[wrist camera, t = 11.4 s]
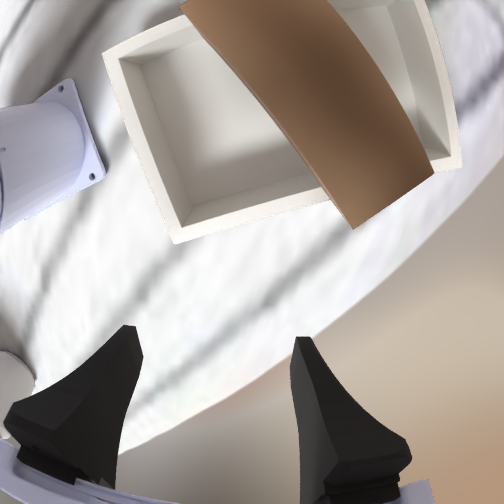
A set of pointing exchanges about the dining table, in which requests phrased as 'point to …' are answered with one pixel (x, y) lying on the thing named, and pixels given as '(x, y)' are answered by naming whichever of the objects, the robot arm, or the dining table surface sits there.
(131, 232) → the dining table surface
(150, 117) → the bin
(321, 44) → the wooden block
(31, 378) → the can
